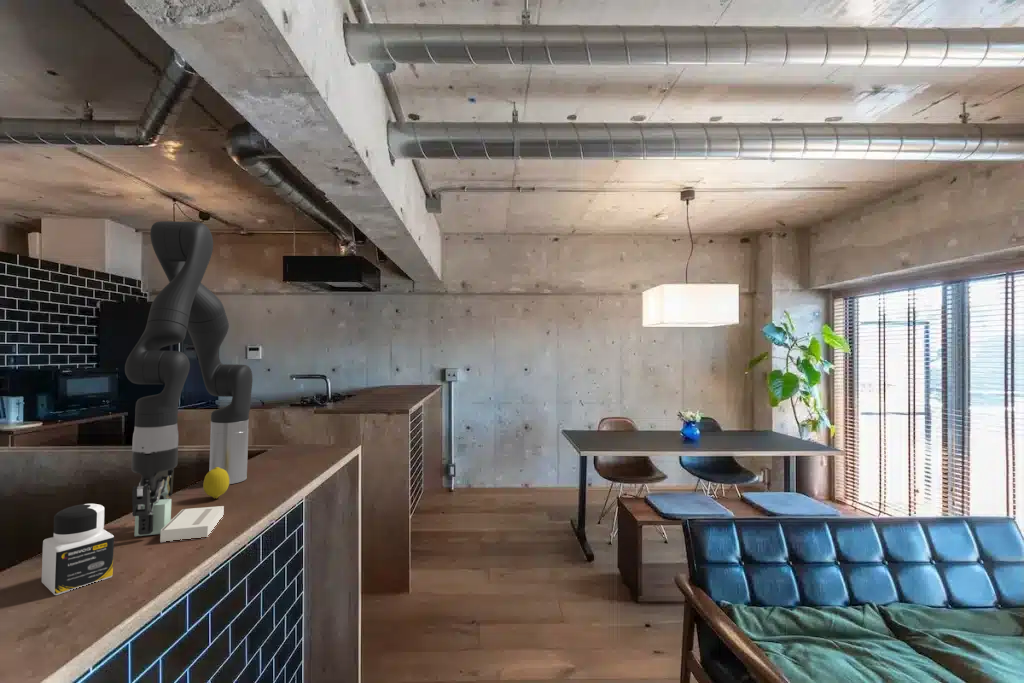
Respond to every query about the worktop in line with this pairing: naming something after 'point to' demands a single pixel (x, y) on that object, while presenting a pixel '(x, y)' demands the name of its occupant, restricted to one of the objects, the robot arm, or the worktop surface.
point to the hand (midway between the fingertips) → (152, 526)
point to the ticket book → (192, 523)
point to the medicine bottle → (77, 549)
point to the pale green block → (157, 517)
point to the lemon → (216, 482)
